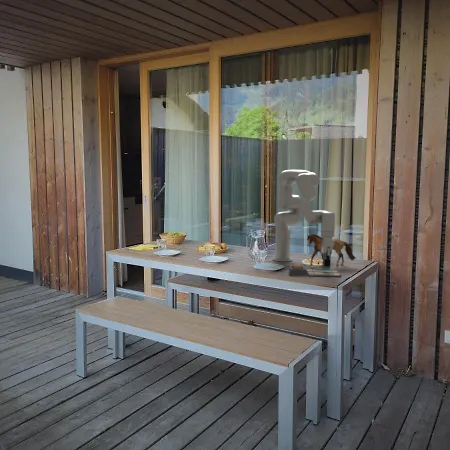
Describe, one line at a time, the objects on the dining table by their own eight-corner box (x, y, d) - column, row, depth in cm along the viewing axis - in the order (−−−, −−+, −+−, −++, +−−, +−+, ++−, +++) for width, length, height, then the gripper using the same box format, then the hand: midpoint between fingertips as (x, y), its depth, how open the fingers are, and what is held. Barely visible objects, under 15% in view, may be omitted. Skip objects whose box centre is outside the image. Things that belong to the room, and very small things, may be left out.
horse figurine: (306, 268, 282) (307, 234, 279) (303, 265, 289) (303, 232, 287) (356, 267, 285) (357, 234, 282) (351, 264, 292) (352, 232, 290)
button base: (289, 271, 273) (289, 265, 273) (304, 271, 273) (304, 266, 272) (290, 275, 264) (290, 269, 264) (306, 275, 264) (306, 269, 263)
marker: (321, 268, 270) (322, 248, 269) (329, 268, 270) (330, 248, 269) (322, 270, 266) (323, 249, 264) (330, 270, 266) (332, 250, 264)
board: (305, 270, 276) (305, 268, 276) (336, 270, 275) (336, 269, 275) (308, 276, 261) (308, 275, 261) (341, 277, 260) (341, 275, 260)
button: (292, 268, 271) (293, 264, 271) (301, 268, 271) (301, 264, 270) (293, 270, 266) (293, 265, 266) (302, 270, 266) (302, 266, 265)
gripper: (318, 231, 274) (317, 262, 276) (323, 235, 257) (322, 268, 260) (331, 231, 273) (330, 262, 276) (337, 236, 257) (335, 268, 259)
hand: (326, 264), depth 268 cm, fingers closed on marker, 4 cm apart
